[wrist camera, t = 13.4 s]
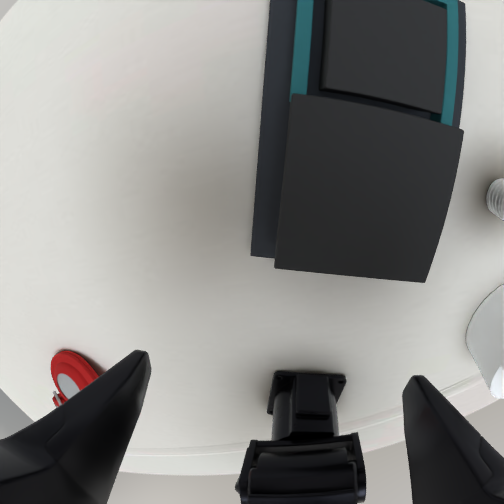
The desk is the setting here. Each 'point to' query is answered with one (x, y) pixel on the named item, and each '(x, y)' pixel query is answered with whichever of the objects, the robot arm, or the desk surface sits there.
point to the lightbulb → (496, 198)
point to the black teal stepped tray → (351, 160)
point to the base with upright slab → (489, 341)
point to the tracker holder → (70, 375)
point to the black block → (385, 52)
